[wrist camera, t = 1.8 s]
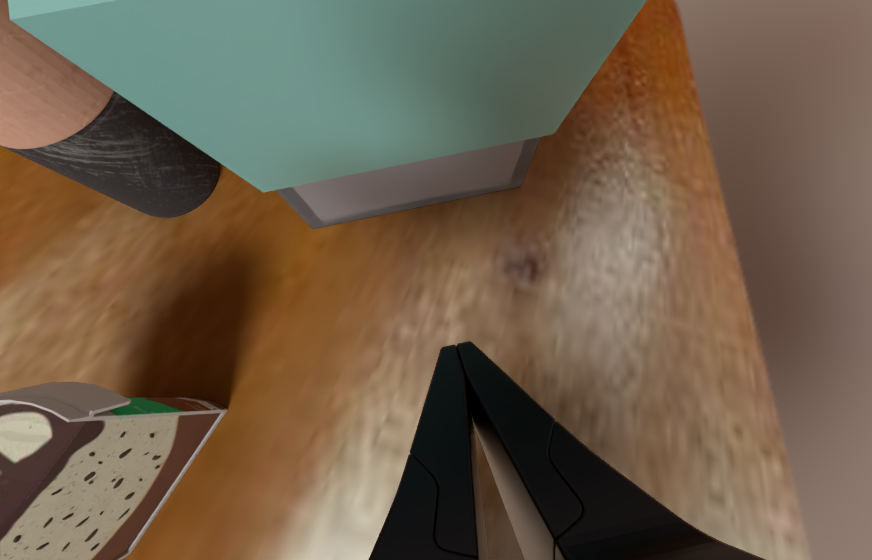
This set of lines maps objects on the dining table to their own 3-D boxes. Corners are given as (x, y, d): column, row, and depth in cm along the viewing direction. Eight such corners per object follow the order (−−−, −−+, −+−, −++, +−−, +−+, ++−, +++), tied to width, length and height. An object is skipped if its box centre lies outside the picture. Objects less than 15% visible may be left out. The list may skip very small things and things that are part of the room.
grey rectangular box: (520, 186, 25) (548, 119, 18) (312, 228, 25) (262, 176, 18) (488, 82, 27) (502, -11, 21) (299, 119, 27) (250, 37, 20)
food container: (172, 341, 23) (-30, 324, 13) (242, 388, 22) (79, 406, 12) (40, 519, 20) (-336, 661, 10) (112, 580, 19) (-226, 797, 10)
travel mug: (223, 129, 27) (-335, -466, 8) (223, 213, 25) (-526, -303, 6) (130, 144, 27) (-673, -423, 8) (123, 229, 25) (-988, -243, 6)
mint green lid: (549, 117, 18) (553, 134, 18) (260, 174, 18) (263, 192, 17) (711, -149, 8) (723, -111, 7) (5, -23, 7) (9, 19, 7)
